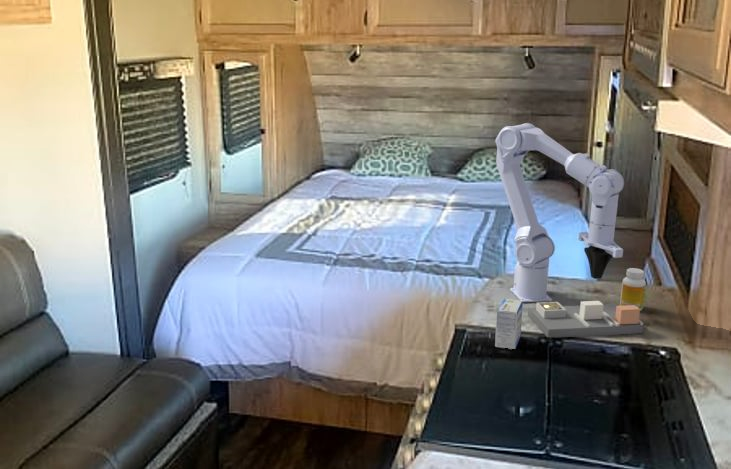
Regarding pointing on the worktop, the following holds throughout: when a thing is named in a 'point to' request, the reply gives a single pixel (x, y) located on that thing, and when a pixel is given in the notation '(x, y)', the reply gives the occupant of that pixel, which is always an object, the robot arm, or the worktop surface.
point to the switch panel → (579, 322)
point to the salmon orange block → (627, 314)
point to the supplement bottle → (633, 288)
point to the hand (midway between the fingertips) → (596, 277)
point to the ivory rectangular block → (591, 310)
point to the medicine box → (508, 324)
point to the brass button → (550, 306)
